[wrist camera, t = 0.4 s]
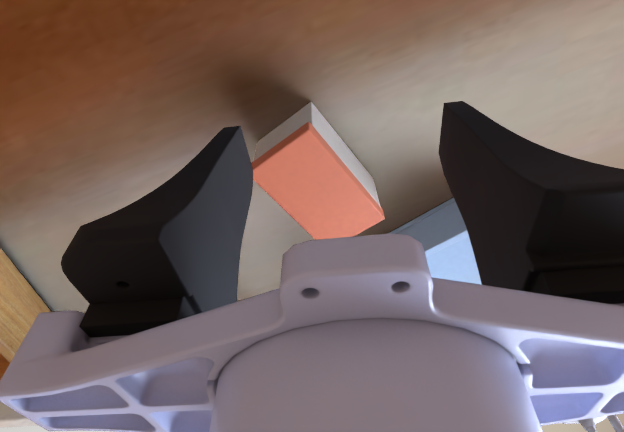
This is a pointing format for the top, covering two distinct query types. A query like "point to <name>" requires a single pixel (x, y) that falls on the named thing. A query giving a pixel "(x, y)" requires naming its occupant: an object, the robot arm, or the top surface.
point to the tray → (15, 310)
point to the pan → (444, 243)
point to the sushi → (316, 177)
